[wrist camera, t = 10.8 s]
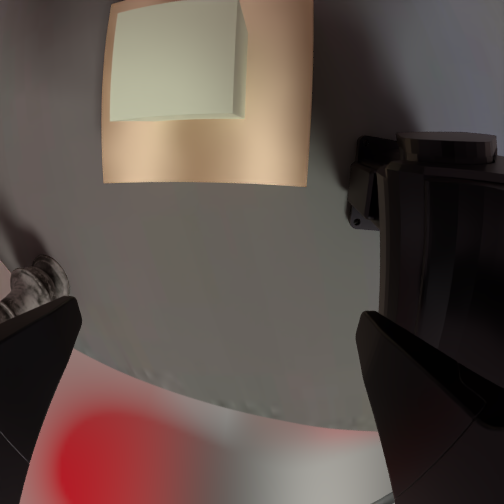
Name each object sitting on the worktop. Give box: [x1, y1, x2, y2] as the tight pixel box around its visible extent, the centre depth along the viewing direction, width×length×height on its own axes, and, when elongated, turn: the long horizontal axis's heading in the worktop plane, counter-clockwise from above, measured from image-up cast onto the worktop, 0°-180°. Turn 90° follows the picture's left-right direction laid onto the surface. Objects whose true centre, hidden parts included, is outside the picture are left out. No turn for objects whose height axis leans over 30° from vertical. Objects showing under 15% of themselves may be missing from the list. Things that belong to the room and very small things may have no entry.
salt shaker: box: [0, 255, 70, 323], centre depth 19 cm, size 6×6×12 cm
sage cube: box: [110, 0, 248, 122], centre depth 11 cm, size 5×5×5 cm
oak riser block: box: [102, 0, 313, 187], centre depth 15 cm, size 12×12×4 cm
